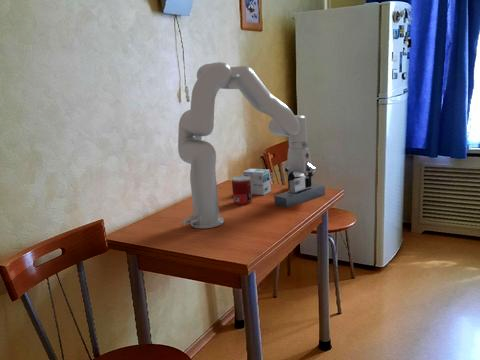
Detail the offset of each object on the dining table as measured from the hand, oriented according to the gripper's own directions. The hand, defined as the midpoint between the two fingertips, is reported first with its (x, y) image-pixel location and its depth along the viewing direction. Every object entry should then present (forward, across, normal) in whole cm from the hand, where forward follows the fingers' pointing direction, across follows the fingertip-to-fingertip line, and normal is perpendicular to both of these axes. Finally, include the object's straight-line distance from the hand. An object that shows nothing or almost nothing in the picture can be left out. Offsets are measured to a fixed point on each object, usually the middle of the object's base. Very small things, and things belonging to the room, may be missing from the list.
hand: (299, 185), depth 186 cm
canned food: (+6, +17, +18) cm, 26 cm away
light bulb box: (+7, +24, +3) cm, 25 cm away
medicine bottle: (+7, +13, -12) cm, 19 cm away
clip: (+5, 0, 0) cm, 5 cm away
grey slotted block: (+6, 0, 0) cm, 6 cm away
